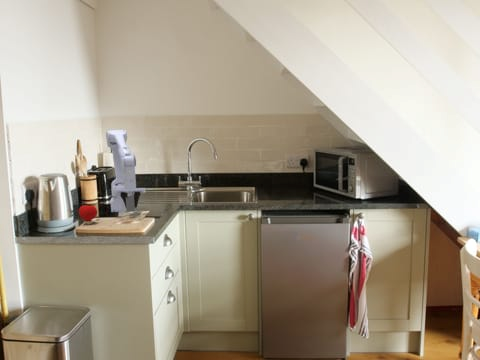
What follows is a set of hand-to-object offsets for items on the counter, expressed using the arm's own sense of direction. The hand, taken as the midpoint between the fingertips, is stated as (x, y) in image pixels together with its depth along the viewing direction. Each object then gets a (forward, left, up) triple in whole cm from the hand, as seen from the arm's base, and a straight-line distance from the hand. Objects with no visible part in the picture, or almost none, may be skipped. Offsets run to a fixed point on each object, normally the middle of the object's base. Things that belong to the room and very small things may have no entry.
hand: (131, 207), depth 217 cm
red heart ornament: (-18, -10, -7) cm, 22 cm away
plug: (0, 0, -2) cm, 2 cm away
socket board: (0, 0, -6) cm, 6 cm away
